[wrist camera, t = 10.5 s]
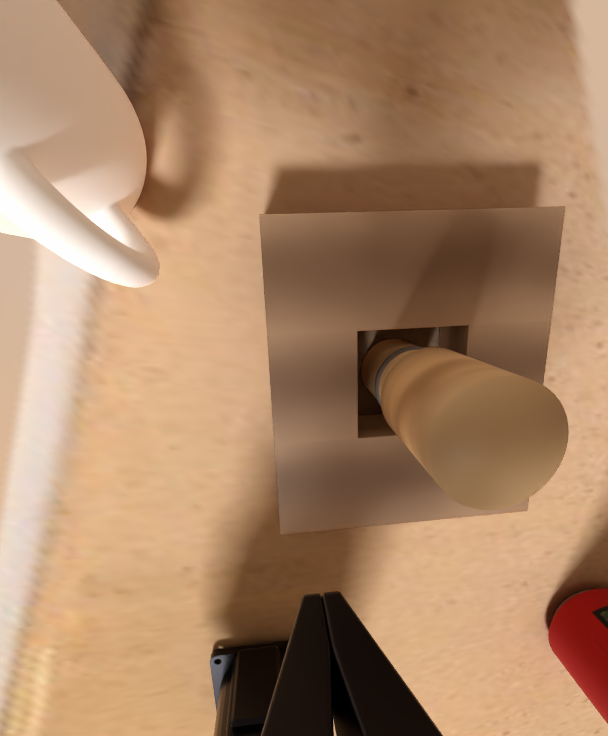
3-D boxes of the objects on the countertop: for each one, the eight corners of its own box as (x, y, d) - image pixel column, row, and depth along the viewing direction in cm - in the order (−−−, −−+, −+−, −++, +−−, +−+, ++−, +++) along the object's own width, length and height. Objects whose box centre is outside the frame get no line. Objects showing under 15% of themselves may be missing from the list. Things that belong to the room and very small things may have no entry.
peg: (426, 402, 21) (558, 503, 11) (354, 407, 21) (427, 516, 11) (429, 329, 20) (578, 372, 10) (354, 333, 20) (434, 381, 10)
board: (494, 482, 23) (527, 511, 20) (279, 501, 22) (280, 534, 19) (520, 218, 19) (565, 206, 16) (261, 225, 18) (259, 214, 15)
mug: (240, 232, 18) (201, 168, 8) (122, 335, 19) (-49, 395, 9) (53, 2, 15) (-364, -536, 5) (-77, 133, 16) (-669, -122, 6)
